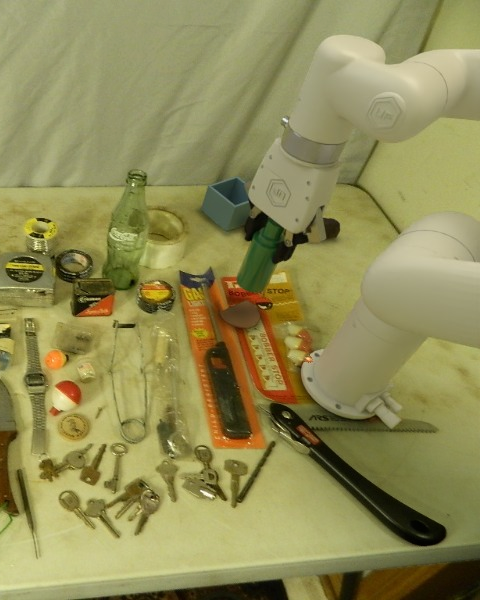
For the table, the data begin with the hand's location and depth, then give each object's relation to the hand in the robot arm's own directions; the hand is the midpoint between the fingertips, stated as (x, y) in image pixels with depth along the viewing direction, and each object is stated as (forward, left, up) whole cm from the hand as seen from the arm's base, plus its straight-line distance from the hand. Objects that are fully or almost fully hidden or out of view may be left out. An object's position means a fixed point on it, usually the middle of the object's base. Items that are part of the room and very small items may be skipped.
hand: (266, 248), depth 81 cm
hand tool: (+11, -25, -15) cm, 31 cm away
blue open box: (+21, -17, -15) cm, 31 cm away
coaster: (0, 0, -15) cm, 15 cm away
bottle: (0, 0, -7) cm, 7 cm away
